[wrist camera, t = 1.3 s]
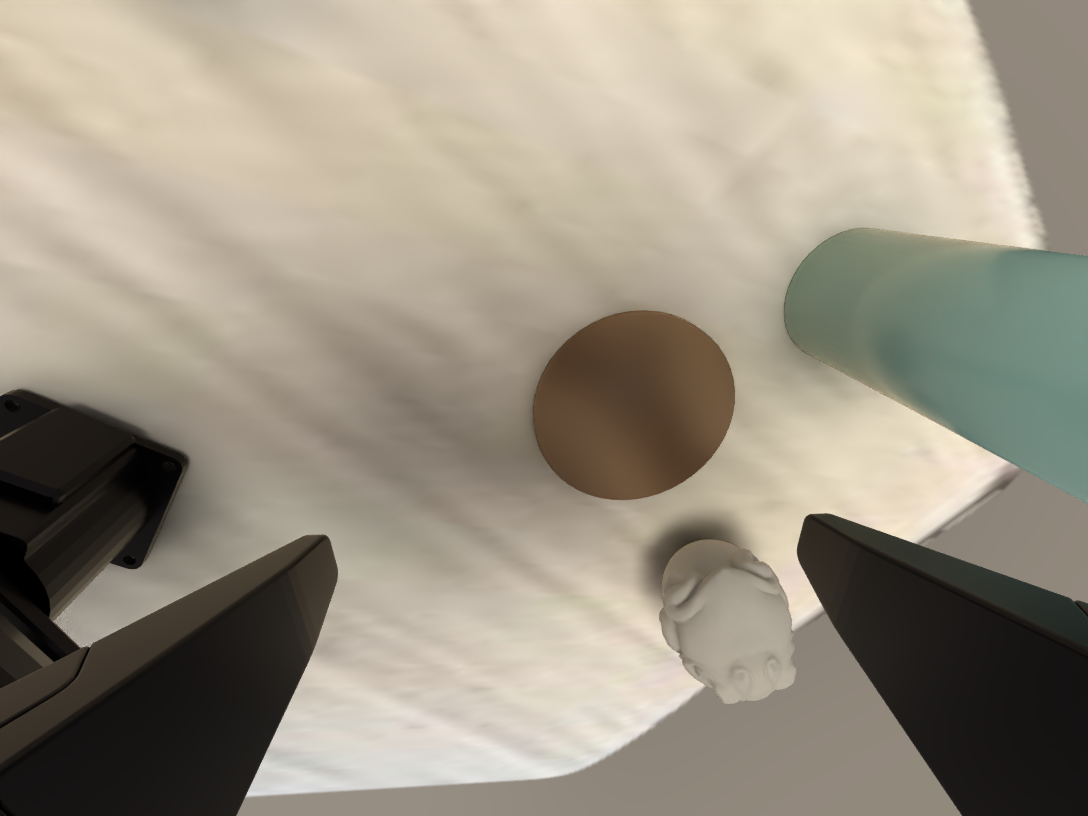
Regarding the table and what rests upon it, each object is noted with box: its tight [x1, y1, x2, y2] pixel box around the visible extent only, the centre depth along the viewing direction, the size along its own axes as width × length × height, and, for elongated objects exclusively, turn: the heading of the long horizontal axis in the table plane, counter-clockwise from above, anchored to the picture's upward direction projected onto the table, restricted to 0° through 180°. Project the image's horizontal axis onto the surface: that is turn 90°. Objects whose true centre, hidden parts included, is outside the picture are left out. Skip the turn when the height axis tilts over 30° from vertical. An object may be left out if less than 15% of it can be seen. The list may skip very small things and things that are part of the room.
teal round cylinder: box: [784, 228, 1088, 504], centre depth 16 cm, size 6×6×12 cm
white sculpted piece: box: [659, 539, 796, 704], centre depth 24 cm, size 6×7×7 cm
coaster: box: [533, 311, 735, 500], centre depth 22 cm, size 9×9×1 cm
